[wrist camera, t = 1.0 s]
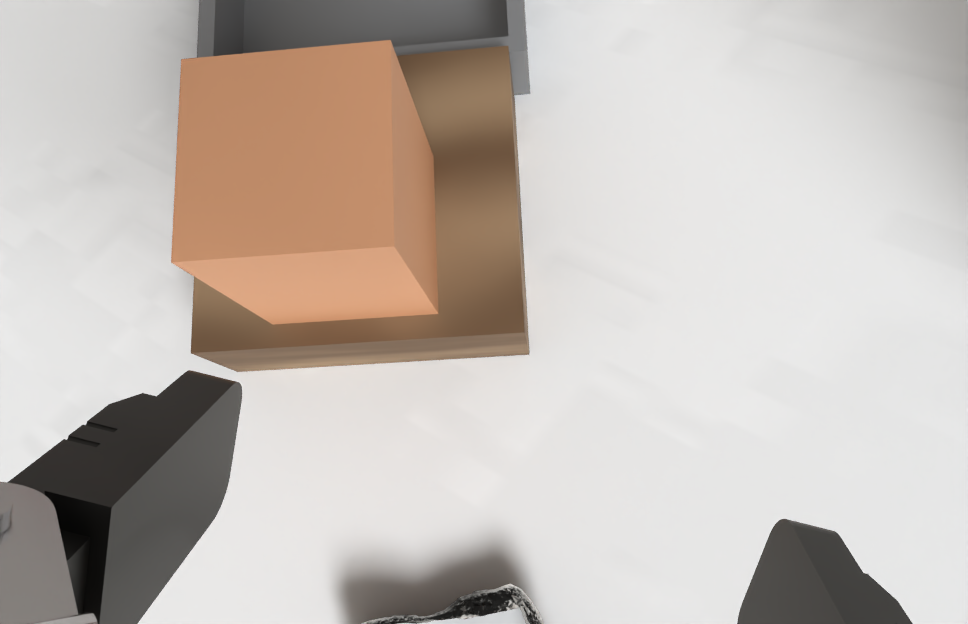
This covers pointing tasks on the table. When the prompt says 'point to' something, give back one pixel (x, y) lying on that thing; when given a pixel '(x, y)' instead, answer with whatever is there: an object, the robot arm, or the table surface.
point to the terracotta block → (306, 184)
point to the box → (366, 27)
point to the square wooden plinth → (459, 242)
